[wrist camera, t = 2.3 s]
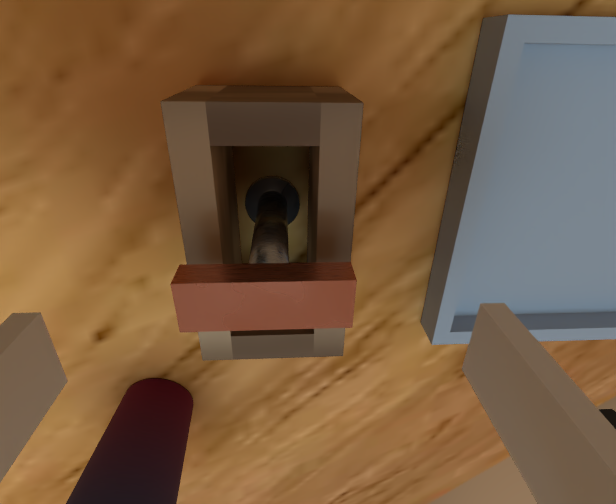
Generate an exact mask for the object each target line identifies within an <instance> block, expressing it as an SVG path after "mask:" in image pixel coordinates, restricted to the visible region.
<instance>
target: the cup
mask: <svg viewBox="0 0 616 504" xmlns="http://www.w3.org/2000/svg"><path fill="white" fill-rule="evenodd" d="M192 410H193V399H192V396H191V395H190V393H189V392H188V391H187V390H186V389H185V388H184V387H182V386H181V385H179V384H177V383H175V382H173V381H169V380H165V379H154V378H153V379H145V380H142V381H139V382H137V383H135V384H133V385H132V386H131V387H130V388H129V389H128V390H127V391H126V393H125V395H124V397H123V399H122V401H121V403H120V404H119V406H118V408H117V410H116V412H115V414H114V416H113V417H112V419H111V421H110V423H109V425H108V427H107V429H106V430H105V432H104V434H103V436H102V438H101V440H100V442H99V443H98V445H97V447H96V449H95V451H94V453H93V455H92V456H91V458H90V460H89V462H88V464H87V466H86V467H85V469H84V471H83V473H82V475H81V477H80V479H79V480H78V482H77V484H76V486H75V488H74V490H73V492H72V493H71V495H70V497H69V499H68V501H67V503H66V504H176V502H177V496H178V491H179V485H180V479H181V473H182V468H183V462H184V456H185V450H186V445H187V439H188V433H189V427H190V422H191V416H192Z"/></svg>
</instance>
